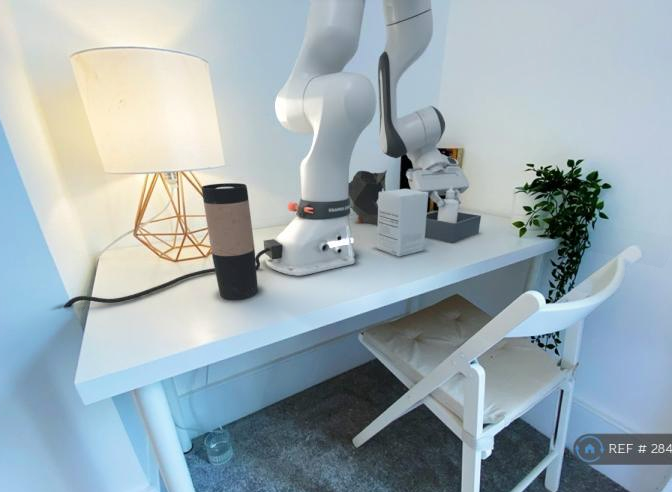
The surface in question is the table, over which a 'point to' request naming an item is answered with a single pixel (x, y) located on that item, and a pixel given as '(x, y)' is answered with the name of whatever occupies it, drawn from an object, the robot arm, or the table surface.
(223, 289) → the travel mug
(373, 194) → the dark grey faceted sculpture
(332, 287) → the table surface
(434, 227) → the grey open rectangular box
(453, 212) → the eye dropper bottle
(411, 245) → the white product box
